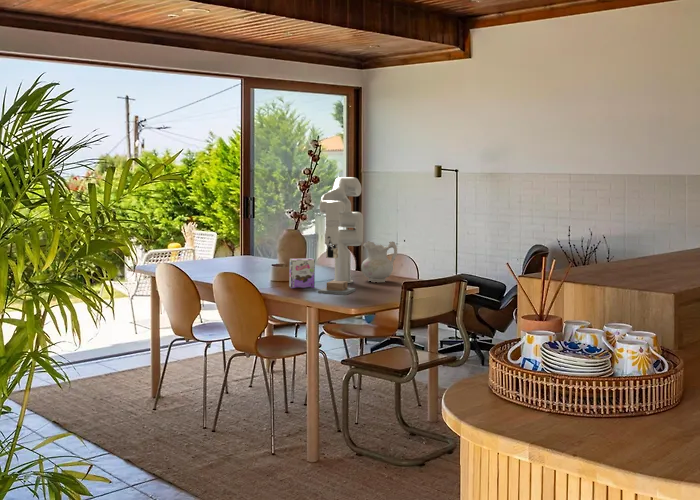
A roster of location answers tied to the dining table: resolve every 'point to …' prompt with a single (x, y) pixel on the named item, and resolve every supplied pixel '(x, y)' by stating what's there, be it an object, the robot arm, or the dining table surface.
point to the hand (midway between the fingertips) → (332, 256)
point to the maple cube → (335, 253)
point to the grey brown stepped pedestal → (337, 288)
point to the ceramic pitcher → (378, 262)
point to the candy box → (302, 273)
